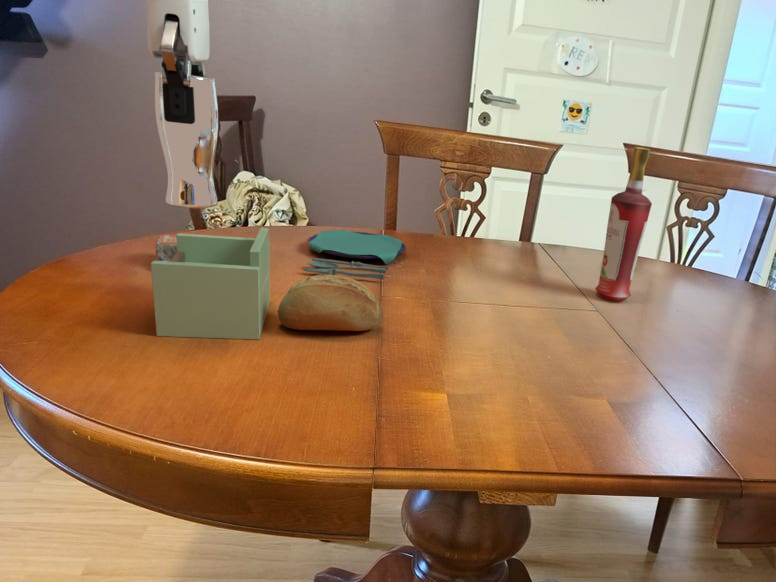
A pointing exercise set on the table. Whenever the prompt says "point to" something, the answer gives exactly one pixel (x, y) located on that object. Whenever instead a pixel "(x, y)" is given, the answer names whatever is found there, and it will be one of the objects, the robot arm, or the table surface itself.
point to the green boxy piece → (213, 287)
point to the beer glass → (190, 146)
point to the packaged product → (166, 248)
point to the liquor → (624, 233)
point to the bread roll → (330, 305)
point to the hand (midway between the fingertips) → (187, 118)
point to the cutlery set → (353, 251)
